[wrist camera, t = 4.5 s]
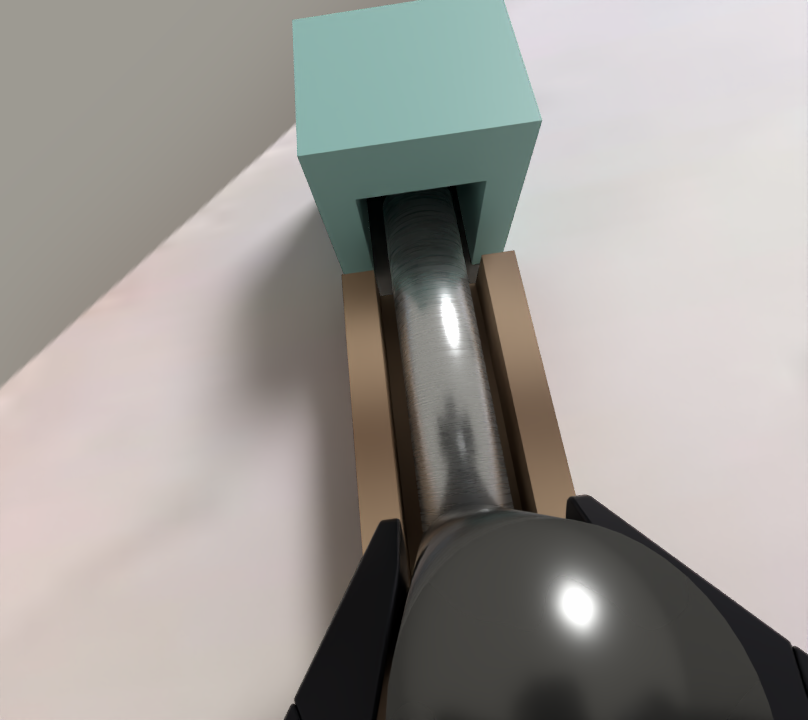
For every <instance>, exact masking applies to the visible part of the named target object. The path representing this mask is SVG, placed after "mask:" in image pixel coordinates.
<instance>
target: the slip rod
mask: <svg viewBox="0 0 808 720" xmlns="http://www.w3.org/2000/svg"><path fill="white" fill-rule="evenodd" d="M383 215H384V223H385V231H386V239H387V247H388V255H389V263H390V272H391V280H392V288H393V296H394V304H395V312H396V320H397V328H398V336H399V344H400V352H401V360H402V368H403V376H404V384H405V392H406V401H407V409H408V417H409V425H410V433H411V441H412V449H413V457H414V465H415V473H416V481H417V489H418V497H419V505H420V513H421V521H422V529H423V534H422V537H421V540H420V544H419V549H418V553H417V557H416V562H415V566H414V570H413V574H412V579H411V583H410V587H409V592H408V596H407V600H406V605H405V609H404V613H403V618H402V622H401V626H400V631H399V635H398V639H397V644H396V648H395V652H394V657H393V662H392V667H391V672H390V678H389V683H388V694H387V707H386V720H774V719H773V716H772V712H771V709H770V705H769V702H768V700H767V697H766V695H765V692H764V690H763V687H762V685H761V682H760V680H759V677H758V675H757V672H756V671H755V669H754V667H753V665H752V663H751V661H750V659H749V657H748V655H747V653H746V651H745V650H744V648H743V646H742V644H741V642H740V641H739V639H738V638H737V636H736V635H735V633H734V632H733V630H732V629H731V627H730V626H729V624H728V623H727V621H726V620H725V618H724V617H723V616H722V615H721V613H720V612H719V611H718V610H717V608H716V607H715V606H714V605H713V603H712V602H711V601H710V600H709V598H708V597H707V596H706V595H705V594H704V593H703V592H702V591H701V590H700V589H699V588H698V587H697V586H696V585H695V584H694V583H693V582H692V581H691V580H690V579H689V578H688V577H687V576H686V575H685V574H684V573H682V572H681V571H680V570H679V569H677V568H676V567H675V566H674V565H673V564H671V563H670V562H669V561H668V560H666V559H665V558H664V557H662V556H661V555H659V554H657V553H656V552H654V551H653V550H651V549H650V548H648V547H647V546H645V545H644V544H642V543H640V542H638V541H636V540H634V539H632V538H629V537H627V536H625V535H623V534H621V533H619V532H616V531H613V530H610V529H607V528H605V527H602V526H599V525H595V524H590V523H586V522H581V521H576V520H571V519H565V518H560V517H554V516H548V515H543V514H537V513H532V512H526V511H520V510H515V509H514V507H513V502H512V497H511V492H510V487H509V482H508V477H507V472H506V467H505V462H504V457H503V452H502V447H501V442H500V437H499V432H498V427H497V422H496V417H495V411H494V406H493V401H492V396H491V391H490V386H489V381H488V376H487V371H486V366H485V361H484V356H483V351H482V346H481V341H480V336H479V331H478V326H477V321H476V316H475V311H474V306H473V301H472V296H471V291H470V286H469V281H468V276H467V271H466V266H465V261H464V256H463V251H462V246H461V241H460V235H459V230H458V225H457V220H456V215H455V210H454V205H453V200H452V195H451V193H450V191H449V189H448V188H447V187H439V188H432V189H425V190H419V191H412V192H405V193H398V194H391V195H387V196H386V198H385V200H384V203H383Z"/></svg>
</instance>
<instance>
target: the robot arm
mask: <svg viewBox="0 0 808 720" xmlns="http://www.w3.org/2000/svg"><path fill="white" fill-rule="evenodd" d="M565 519H571V520H576V521H581V522H586V523H590V524H595V525H599V526H602V527H605V528H607V529H610V530H613V531H616V532H619V533H621V534H623V535H625V536H627V537H629V538H632V539H634V540H636V541H638V542H640V543H642V544H644V545H645V546H647V547H648V548H650V549H651V550H653V551H654V552H656V553H657V554H659V555H661V556H662V557H664V558H665V559H666V560H668V561H669V562H670V563H671V564H673V565H674V566H675V567H676V568H677V569H679V570H680V571H681V572H682V573H684V574H685V575H686V576H687V577H688V578H689V579H690V580H691V581H692V582H693V583H694V584H695V585H696V586H697V587H698V588H699V589H700V590H701V591H702V592H703V593H704V594H705V595H706V596H707V597H708V598H709V600H710V601H711V602H712V603H713V605H714V606H715V607H716V608H717V610H718V611H719V612H720V613H721V615H722V616H723V617H724V618H725V620H726V621H727V623H728V624H729V626H730V627H731V629H732V630H733V632H734V633H735V635H736V636H737V638H738V639H739V641H740V642H741V644H742V646H743V648H744V650H745V651H746V653H747V655H748V657H749V659H750V661H751V663H752V665H753V667H754V669H755V671H756V672H757V675H758V677H759V680H760V682H761V685H762V687H763V690H764V692H765V695H766V697H767V700H768V702H769V705H770V709H771V712H772V716H773V719H774V720H808V654H807V653H805V652H804V651H802V650H801V649H800V648H798V647H797V646H792V645H791V643H790V642H789V641H788V640H787V639H786V638H784V637H783V636H782V635H780V634H779V633H778V632H776V631H775V630H773V629H772V628H771V627H769V626H768V625H767V624H765V623H764V622H762V621H761V620H760V619H758V618H757V617H756V616H754V615H753V614H752V613H750V612H749V611H747V610H746V609H745V608H743V607H742V606H741V605H739V604H738V603H736V602H735V601H734V600H732V599H731V598H730V597H728V596H727V595H726V594H724V593H723V592H721V591H720V590H719V589H717V588H716V587H715V586H713V585H712V584H710V583H709V582H708V581H706V580H705V579H704V578H702V577H701V576H699V575H698V574H697V573H695V572H694V571H693V570H691V569H690V568H689V567H687V566H686V565H684V564H683V563H682V562H680V561H679V560H678V559H676V558H675V557H673V556H672V555H671V554H669V553H668V552H667V551H665V550H664V549H663V548H661V547H660V546H658V545H657V544H656V543H654V542H653V541H652V540H650V539H649V538H647V537H646V536H645V535H643V534H642V533H641V532H639V531H638V530H637V529H635V528H634V527H632V526H631V525H630V524H628V523H627V522H626V521H624V520H623V519H621V518H620V517H619V516H617V515H616V514H615V513H613V512H612V511H610V510H609V509H608V508H606V507H605V506H604V505H602V504H601V503H600V502H598V501H597V500H595V499H594V498H593V497H591V496H589V495H578V496H571V497H569V498H568V499H567V503H566V518H565ZM408 592H409V583H408V570H407V557H406V548H405V542H404V537H403V532H402V526H401V522H400V520H399V519H398V518H394V519H386V520H382V521H380V522H379V524H378V526H377V528H376V530H375V532H374V534H373V536H372V538H371V540H370V542H369V544H368V547H367V549H366V551H365V553H364V555H363V557H362V559H361V561H360V563H359V565H358V567H357V569H356V571H355V573H354V576H353V578H352V580H351V582H350V584H349V586H348V588H347V590H346V592H345V594H344V596H343V598H342V600H341V602H340V605H339V607H338V609H337V611H336V613H335V615H334V617H333V619H332V621H331V623H330V625H329V627H328V629H327V631H326V633H325V636H324V638H323V640H322V642H321V644H320V646H319V648H318V650H317V652H316V654H315V656H314V658H313V660H312V662H311V665H310V667H309V669H308V671H307V673H306V675H305V677H304V679H303V681H302V683H301V685H300V687H299V689H298V691H297V694H296V696H295V698H294V702H295V704H291V706H290V708H289V710H288V712H287V714H286V716H285V718H284V720H386V707H387V694H388V683H389V678H390V672H391V667H392V662H393V657H394V652H395V648H396V644H397V639H398V635H399V631H400V626H401V622H402V618H403V613H404V609H405V605H406V600H407V596H408Z"/></svg>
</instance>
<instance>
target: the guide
mask: <svg viewBox="0 0 808 720" xmlns="http://www.w3.org/2000/svg"><path fill="white" fill-rule="evenodd" d="M469 286H470V291H471V296H472V301H473V306H474V311H475V316H476V321H477V326H478V331H479V336H480V341H481V346H482V351H483V356H484V361H485V366H486V371H487V376H488V381H489V386H490V391H491V396H492V401H493V406H494V411H495V417H496V422H497V427H498V432H499V437H500V442H501V447H502V452H503V457H504V462H505V467H506V472H507V477H508V482H509V487H510V492H511V497H512V502H513V507H514V509H515V510H520V511H526V512H532V513H537V514H543V515H548V516H554V517H560V518H566V503H567V499H568V498H569V497H571V496H576V495H575V491H574V487H573V483H572V479H571V475H570V471H569V467H568V463H567V459H566V455H565V451H564V447H563V443H562V439H561V435H560V431H559V427H558V423H557V419H556V415H555V411H554V407H553V403H552V399H551V395H550V391H549V387H548V383H547V379H546V375H545V371H544V367H543V363H542V359H541V355H540V351H539V347H538V343H537V339H536V335H535V331H534V327H533V323H532V319H531V315H530V311H529V307H528V303H527V299H526V295H525V291H524V287H523V283H522V279H521V275H520V271H519V267H518V263H517V259H516V255H515V251H507V252H499V253H492V254H485V255H481V260H480V265H479V270H478V274H477V279H476V283H471V284H469ZM342 288H343V302H344V315H345V328H346V341H347V354H348V368H349V381H350V394H351V407H352V421H353V434H354V447H355V460H356V473H357V487H358V500H359V513H360V526H361V540H362V553H363V555H364V553H365V551H366V549H367V547H368V544H369V542H370V540H371V538H372V536H373V534H374V532H375V530H376V528H377V526H378V524H379V522H380V521H382V520H386V519H394V518H398V519H399V520H400V522H401V526H402V532H403V537H404V542H405V548H406V557H407V570H408V583H409V587H410V583H411V579H412V574H413V570H414V566H415V562H416V557H417V553H418V549H419V544H420V540H421V537H422V534H423V529H422V521H421V513H420V505H419V497H418V489H417V481H416V473H415V465H414V457H413V449H412V441H411V433H410V425H409V417H408V409H407V401H406V392H405V384H404V376H403V368H402V360H401V352H400V344H399V336H398V328H397V320H396V312H395V304H394V296H393V294H392V295H385V296H380V293H379V289H378V285H377V281H376V278H375V274H374V270H371V271H364V272H356V273H349V274H342Z"/></svg>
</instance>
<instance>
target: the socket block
mask: <svg viewBox="0 0 808 720" xmlns="http://www.w3.org/2000/svg"><path fill="white" fill-rule="evenodd" d="M292 23H293V51H294V78H295V105H296V132H297V157H298V159H299V162H300V164H301V167H302V169H303V172H304V174H305V177H306V179H307V182H308V184H309V187H310V189H311V192H312V195H313V197H314V200H315V202H316V205H317V207H318V210H319V212H320V215H321V217H322V220H323V222H324V225H325V227H326V230H327V233H328V235H329V238H330V240H331V243H332V245H333V248H334V250H335V253H336V255H337V258H338V260H339V263H340V265H341V268H342V271H343V273H344V274H349V273H356V272H364V271H371V270H374V261H373V252H372V243H371V233H370V224H369V215H368V206H367V198H370V197H377V196H384V195H391V194H398V193H405V192H412V191H419V190H425V189H432V188H439V187H446V186H453V185H456V190H457V195H458V200H459V205H460V210H461V215H462V219H463V224H464V229H465V234H466V239H467V244H468V249H469V254H470V258H471V263H472V265H473V264H480V260H481V255H485V254H492V253H499V252H503V250H504V247H505V244H506V240H507V237H508V234H509V230H510V227H511V224H512V220H513V217H514V213H515V210H516V207H517V203H518V200H519V197H520V193H521V190H522V186H523V183H524V180H525V176H526V173H527V170H528V166H529V163H530V160H531V156H532V153H533V149H534V146H535V143H536V139H537V136H538V133H539V129H540V126H541V122H542V118H541V115H540V112H539V109H538V106H537V103H536V99H535V96H534V93H533V90H532V87H531V84H530V81H529V78H528V74H527V71H526V68H525V65H524V62H523V59H522V56H521V53H520V50H519V46H518V43H517V40H516V37H515V34H514V31H513V28H512V25H511V21H510V18H509V15H508V12H507V9H506V6H505V3H504V0H418V1H412V2H405V3H399V4H392V5H386V6H380V7H373V8H366V9H360V10H354V11H348V12H341V13H335V14H328V15H321V16H315V17H308V18H302V19H296V20H292ZM374 274H375V270H374Z"/></svg>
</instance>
